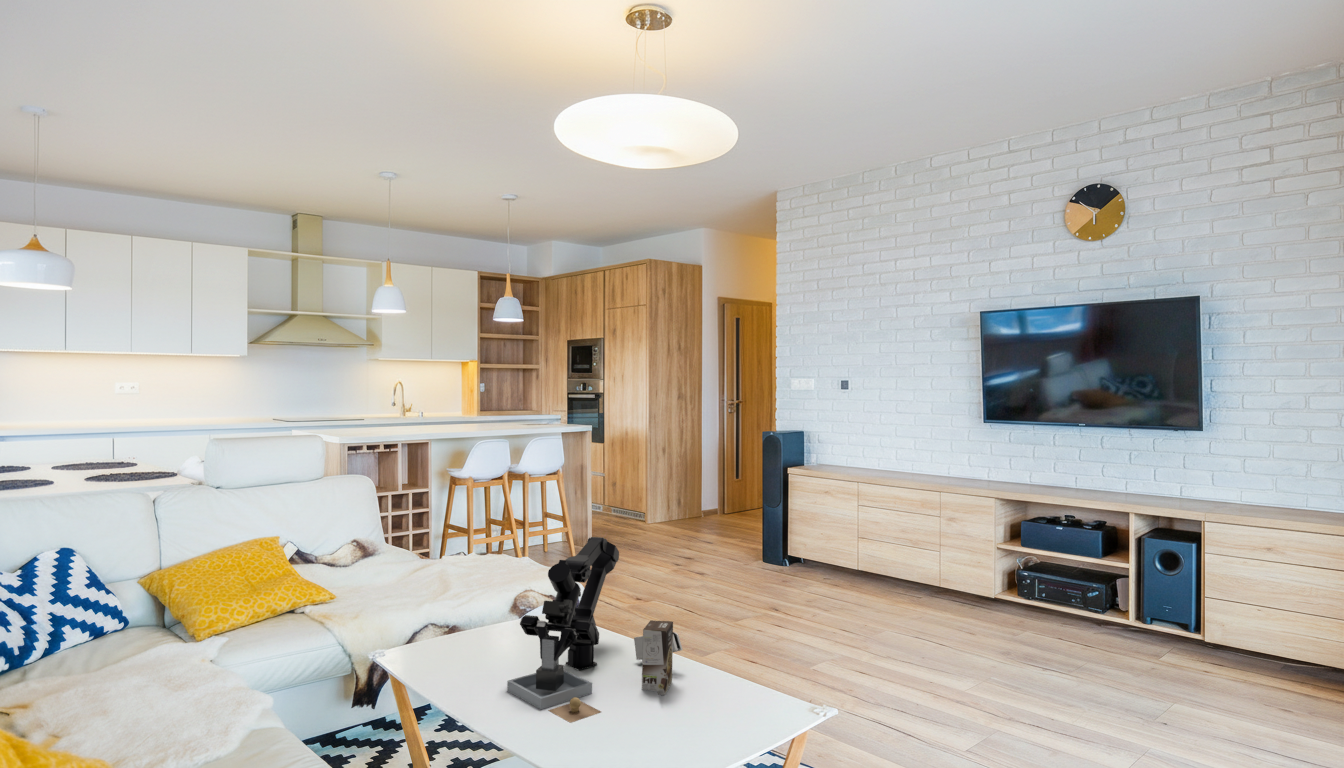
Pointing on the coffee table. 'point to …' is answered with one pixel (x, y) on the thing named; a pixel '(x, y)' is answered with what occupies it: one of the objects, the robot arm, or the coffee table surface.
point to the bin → (547, 698)
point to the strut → (549, 666)
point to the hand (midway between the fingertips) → (548, 659)
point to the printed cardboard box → (639, 645)
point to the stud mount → (574, 710)
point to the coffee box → (657, 656)
